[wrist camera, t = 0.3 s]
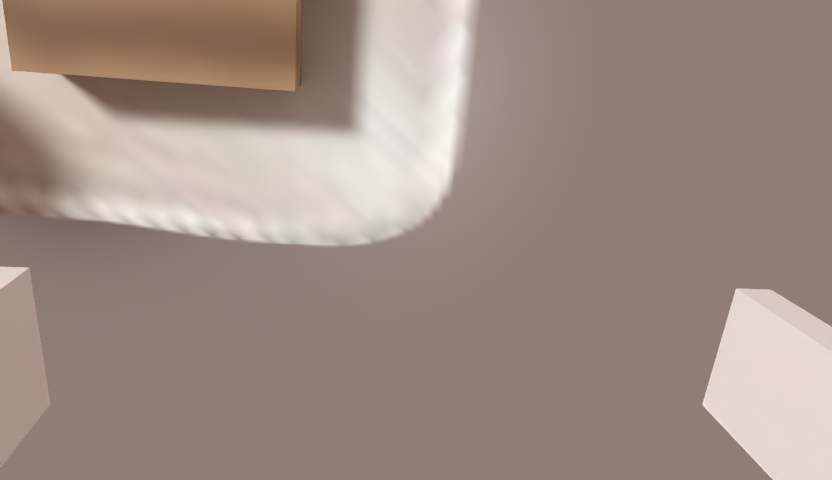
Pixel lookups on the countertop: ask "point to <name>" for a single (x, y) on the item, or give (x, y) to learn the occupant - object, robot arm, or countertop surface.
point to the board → (160, 40)
